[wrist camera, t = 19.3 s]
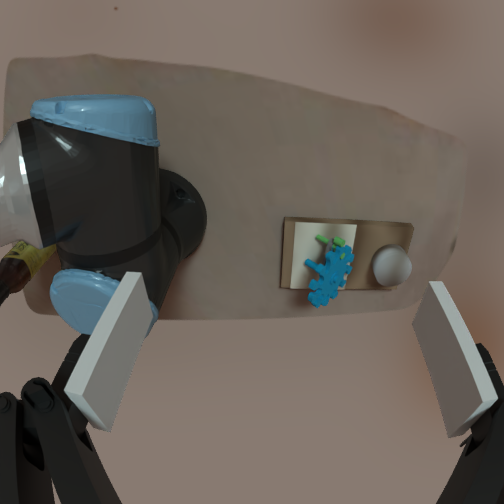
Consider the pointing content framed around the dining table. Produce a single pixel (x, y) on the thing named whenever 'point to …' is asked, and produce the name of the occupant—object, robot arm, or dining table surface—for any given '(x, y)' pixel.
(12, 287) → the sauce bottle
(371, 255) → the wooden board
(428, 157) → the dining table surface
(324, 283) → the gear
